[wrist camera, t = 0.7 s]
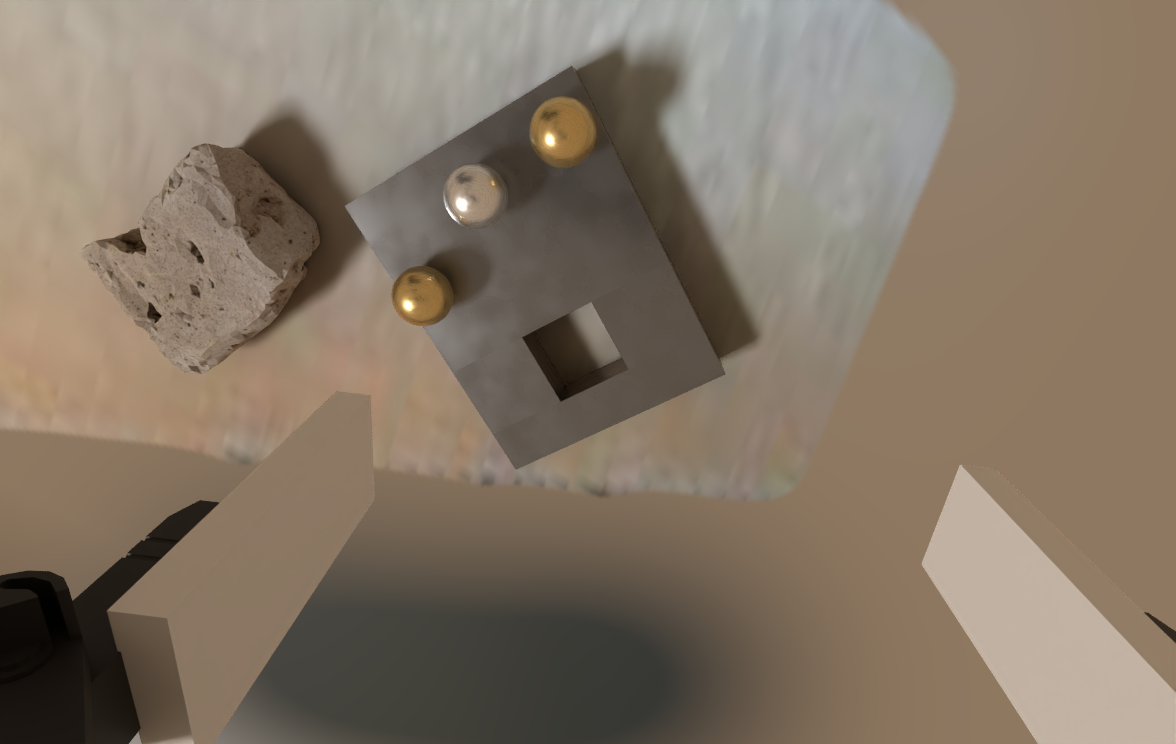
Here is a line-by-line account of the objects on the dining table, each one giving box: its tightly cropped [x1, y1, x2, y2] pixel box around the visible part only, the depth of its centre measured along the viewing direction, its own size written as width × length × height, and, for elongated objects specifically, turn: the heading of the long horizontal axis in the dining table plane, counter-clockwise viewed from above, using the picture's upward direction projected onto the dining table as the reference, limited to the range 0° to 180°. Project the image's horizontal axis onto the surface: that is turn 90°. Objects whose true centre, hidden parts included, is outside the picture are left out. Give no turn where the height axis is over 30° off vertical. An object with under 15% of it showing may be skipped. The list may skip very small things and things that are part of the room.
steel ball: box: [443, 163, 508, 229], centre depth 31 cm, size 3×3×3 cm
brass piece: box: [529, 96, 596, 168], centre depth 30 cm, size 3×3×3 cm
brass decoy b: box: [392, 266, 454, 326], centre depth 33 cm, size 3×3×3 cm
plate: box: [345, 66, 725, 469], centre depth 35 cm, size 18×14×2 cm
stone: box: [80, 144, 320, 374], centre depth 35 cm, size 13×6×10 cm
